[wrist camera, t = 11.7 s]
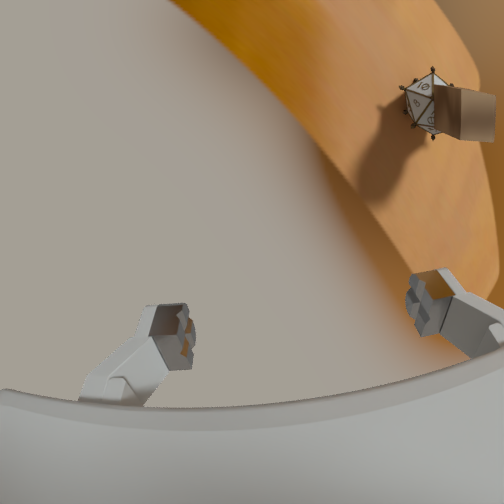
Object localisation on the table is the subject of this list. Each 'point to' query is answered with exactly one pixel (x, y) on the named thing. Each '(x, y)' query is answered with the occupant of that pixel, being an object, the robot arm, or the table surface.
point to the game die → (423, 101)
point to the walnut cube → (464, 113)
